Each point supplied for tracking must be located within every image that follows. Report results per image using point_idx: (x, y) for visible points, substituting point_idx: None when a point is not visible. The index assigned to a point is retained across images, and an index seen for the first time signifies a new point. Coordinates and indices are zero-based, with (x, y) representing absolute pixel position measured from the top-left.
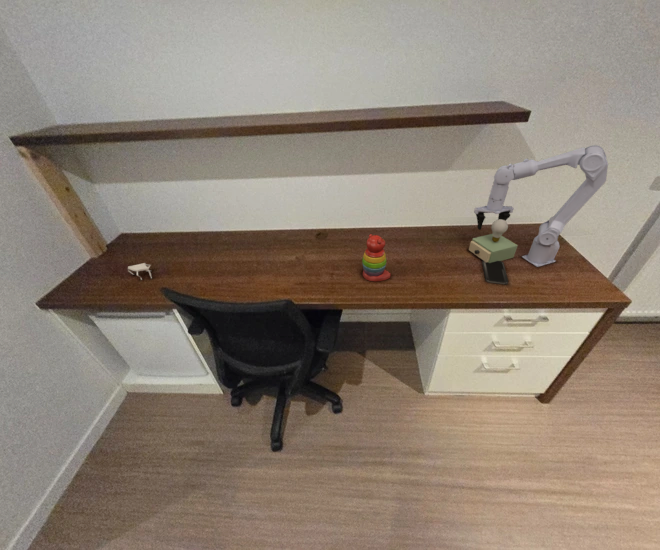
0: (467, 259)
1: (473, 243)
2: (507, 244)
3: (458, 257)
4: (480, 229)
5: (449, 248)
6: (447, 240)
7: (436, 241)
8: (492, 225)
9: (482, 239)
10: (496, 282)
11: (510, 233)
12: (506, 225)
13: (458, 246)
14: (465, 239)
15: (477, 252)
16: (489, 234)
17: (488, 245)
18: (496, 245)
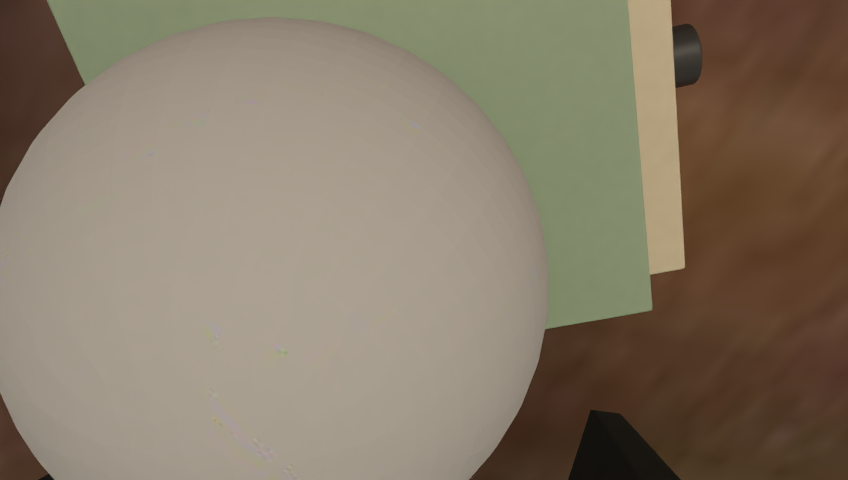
0: (748, 38)
1: (681, 209)
2: (196, 13)
3: (823, 106)
4: (599, 412)
5: (787, 305)
6: (701, 441)
7: (823, 446)
8: (539, 350)
9: None
10: None
11: (16, 432)
12: (81, 116)
13: (665, 322)
14: (511, 423)
15: (688, 28)
16: None
17: (545, 46)
18: (404, 18)
